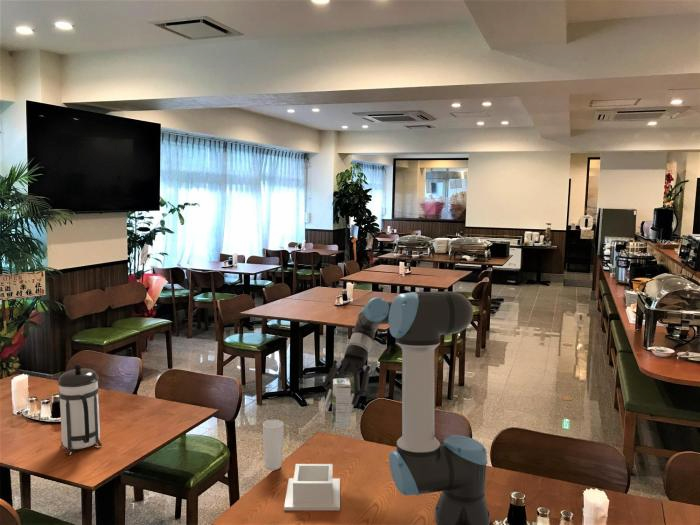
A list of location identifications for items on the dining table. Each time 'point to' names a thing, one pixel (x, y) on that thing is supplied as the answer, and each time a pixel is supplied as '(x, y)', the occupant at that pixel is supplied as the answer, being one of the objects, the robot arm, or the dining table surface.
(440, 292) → the robot arm
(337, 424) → the syrup box
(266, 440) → the drinking glass
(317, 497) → the holder
